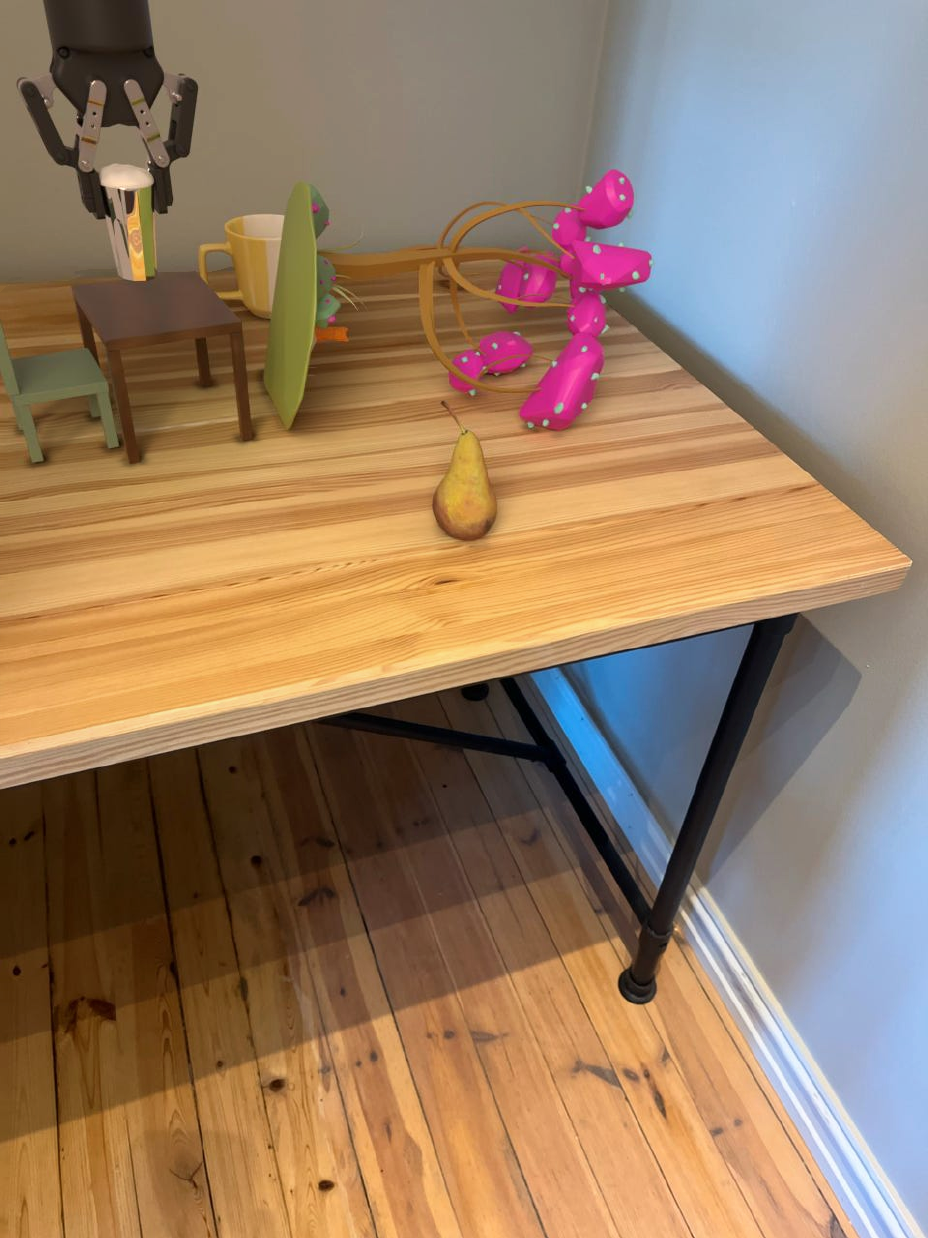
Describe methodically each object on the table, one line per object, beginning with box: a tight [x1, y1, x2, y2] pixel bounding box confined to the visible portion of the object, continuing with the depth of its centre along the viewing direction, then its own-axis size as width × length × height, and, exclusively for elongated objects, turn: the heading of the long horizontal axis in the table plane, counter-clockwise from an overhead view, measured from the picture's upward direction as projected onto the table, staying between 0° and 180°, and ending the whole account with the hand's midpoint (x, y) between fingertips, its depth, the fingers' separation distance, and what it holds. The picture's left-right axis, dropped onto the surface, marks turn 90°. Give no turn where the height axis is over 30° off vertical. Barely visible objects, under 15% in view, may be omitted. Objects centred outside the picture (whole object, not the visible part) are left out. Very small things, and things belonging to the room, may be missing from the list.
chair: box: [0, 319, 120, 464], centre depth 83 cm, size 8×8×17 cm
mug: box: [198, 213, 285, 320], centre depth 112 cm, size 14×10×10 cm
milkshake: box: [97, 154, 158, 282], centre depth 79 cm, size 4×5×10 cm
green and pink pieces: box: [262, 168, 656, 431], centre depth 94 cm, size 30×28×35 cm
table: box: [70, 270, 254, 465], centre depth 89 cm, size 12×14×12 cm
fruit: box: [431, 400, 498, 541], centre depth 76 cm, size 6×6×12 cm
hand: (130, 213), depth 78 cm, fingers closed on milkshake, 4 cm apart
